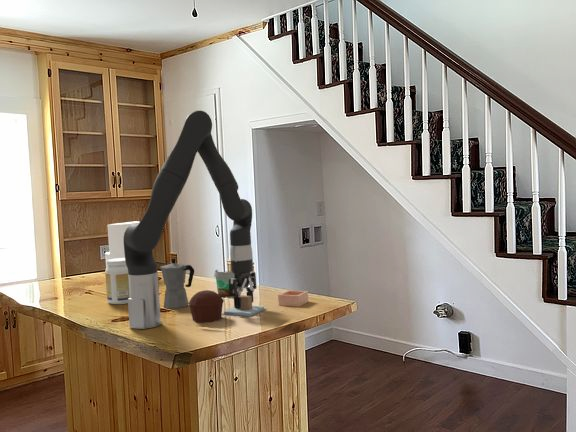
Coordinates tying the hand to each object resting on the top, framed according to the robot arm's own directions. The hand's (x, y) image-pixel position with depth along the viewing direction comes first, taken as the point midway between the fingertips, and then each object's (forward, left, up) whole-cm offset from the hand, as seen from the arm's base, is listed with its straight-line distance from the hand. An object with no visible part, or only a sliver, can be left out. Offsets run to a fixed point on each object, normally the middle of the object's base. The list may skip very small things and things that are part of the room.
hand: (244, 305), depth 188 cm
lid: (0, 0, -2) cm, 2 cm away
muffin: (-12, +7, -3) cm, 14 cm away
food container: (+24, +23, -3) cm, 33 cm away
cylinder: (+45, +95, -3) cm, 105 cm away
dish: (+16, -11, -3) cm, 20 cm away
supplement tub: (+5, +59, -3) cm, 59 cm away
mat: (0, 0, -3) cm, 3 cm away
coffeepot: (+4, +31, -3) cm, 31 cm away
